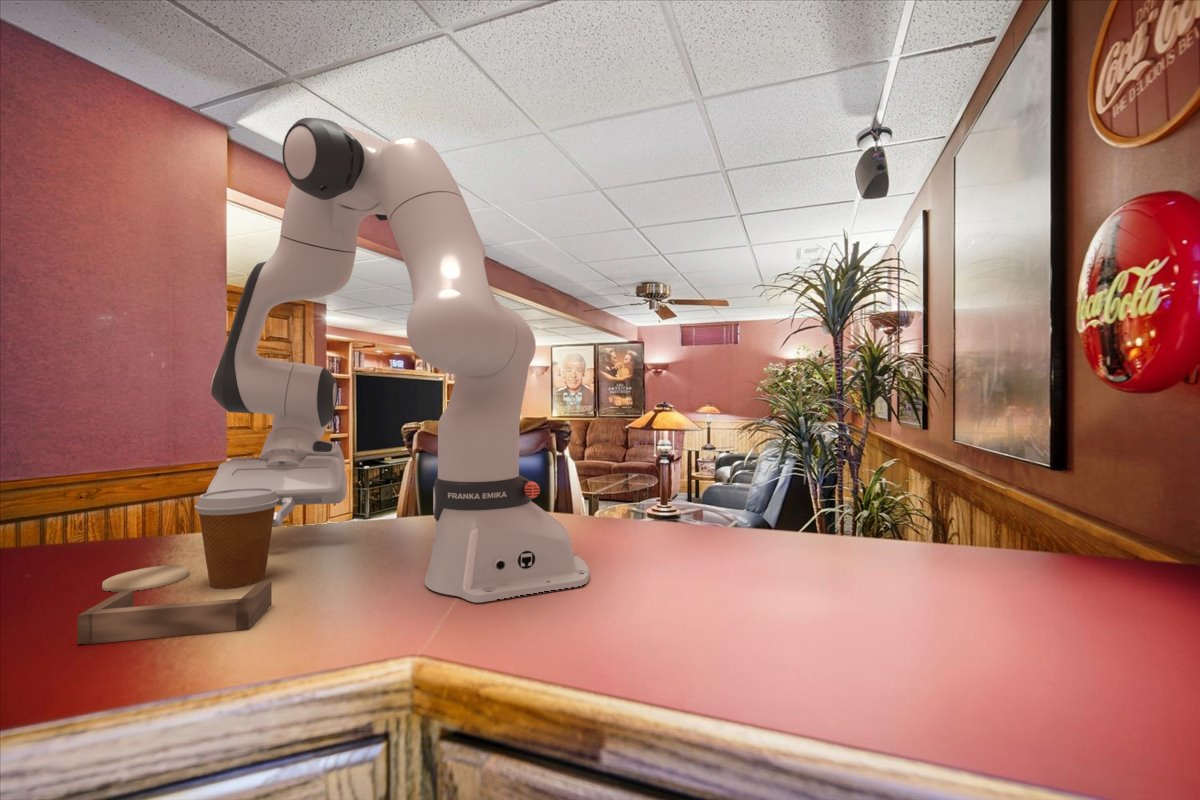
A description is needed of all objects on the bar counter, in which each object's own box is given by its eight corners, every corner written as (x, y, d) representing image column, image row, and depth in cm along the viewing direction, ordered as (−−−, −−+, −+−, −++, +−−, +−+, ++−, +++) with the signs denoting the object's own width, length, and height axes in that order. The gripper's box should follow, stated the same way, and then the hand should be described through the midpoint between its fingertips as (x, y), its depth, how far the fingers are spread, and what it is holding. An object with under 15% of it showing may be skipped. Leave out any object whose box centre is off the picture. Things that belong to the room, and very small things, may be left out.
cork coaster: (201, 567, 77) (201, 563, 77) (167, 588, 68) (167, 584, 68) (128, 572, 75) (128, 568, 75) (84, 594, 66) (84, 590, 66)
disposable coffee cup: (236, 595, 66) (237, 500, 66) (175, 590, 68) (175, 497, 68) (294, 571, 75) (295, 488, 75) (239, 567, 77) (239, 486, 77)
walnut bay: (271, 605, 63) (271, 580, 63) (248, 629, 56) (248, 601, 56) (120, 617, 59) (120, 591, 59) (77, 645, 53) (77, 615, 53)
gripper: (216, 446, 88) (186, 517, 78) (349, 444, 93) (335, 510, 83) (228, 469, 92) (200, 539, 83) (354, 466, 97) (341, 532, 88)
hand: (269, 525), depth 83 cm, fingers closed
